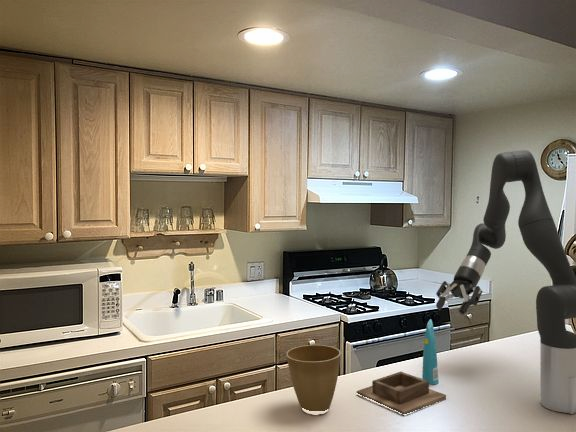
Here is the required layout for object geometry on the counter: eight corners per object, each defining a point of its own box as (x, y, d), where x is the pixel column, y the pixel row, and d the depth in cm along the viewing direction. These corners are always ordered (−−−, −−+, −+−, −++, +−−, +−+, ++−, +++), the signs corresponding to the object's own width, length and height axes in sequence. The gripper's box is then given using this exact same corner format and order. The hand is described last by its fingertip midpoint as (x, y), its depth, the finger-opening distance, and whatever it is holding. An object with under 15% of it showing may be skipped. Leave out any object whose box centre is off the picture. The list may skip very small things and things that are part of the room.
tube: (423, 377, 155) (422, 318, 155) (439, 378, 154) (438, 319, 153) (421, 385, 148) (420, 323, 148) (437, 387, 147) (437, 324, 146)
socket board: (446, 399, 138) (446, 382, 138) (404, 416, 127) (404, 398, 127) (397, 380, 152) (397, 366, 152) (356, 395, 142) (356, 379, 142)
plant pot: (327, 395, 142) (326, 341, 142) (351, 416, 128) (350, 356, 128) (279, 403, 137) (278, 348, 136) (299, 426, 123) (298, 364, 122)
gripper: (447, 263, 167) (426, 300, 160) (484, 267, 155) (463, 307, 149) (456, 276, 170) (436, 313, 164) (493, 281, 159) (473, 321, 152)
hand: (449, 310), depth 156 cm, fingers open, 8 cm apart
